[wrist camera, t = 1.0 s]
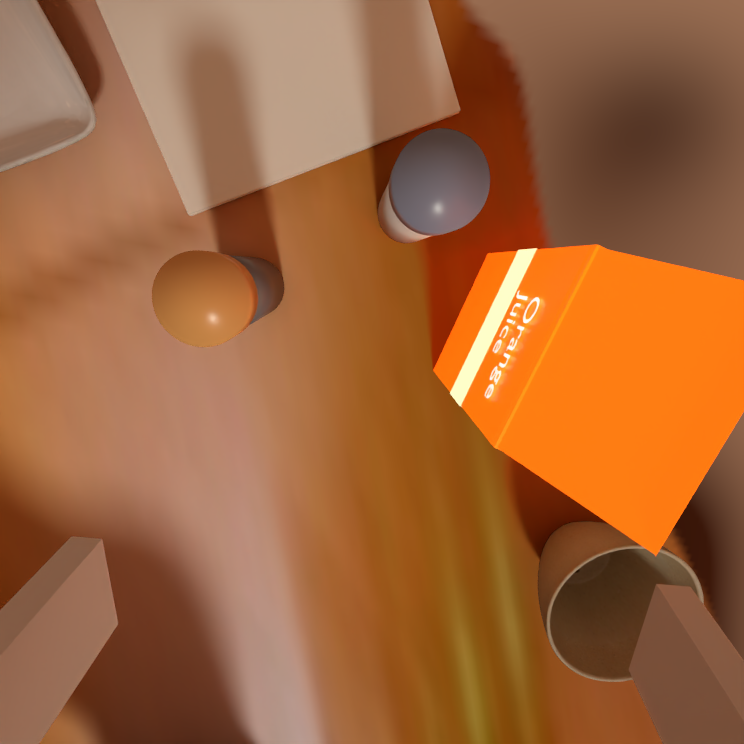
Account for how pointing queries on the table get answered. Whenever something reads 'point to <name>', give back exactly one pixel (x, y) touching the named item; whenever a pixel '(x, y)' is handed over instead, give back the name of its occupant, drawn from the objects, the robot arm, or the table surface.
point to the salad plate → (37, 88)
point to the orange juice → (602, 376)
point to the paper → (276, 84)
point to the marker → (214, 295)
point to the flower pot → (601, 595)
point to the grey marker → (434, 186)
